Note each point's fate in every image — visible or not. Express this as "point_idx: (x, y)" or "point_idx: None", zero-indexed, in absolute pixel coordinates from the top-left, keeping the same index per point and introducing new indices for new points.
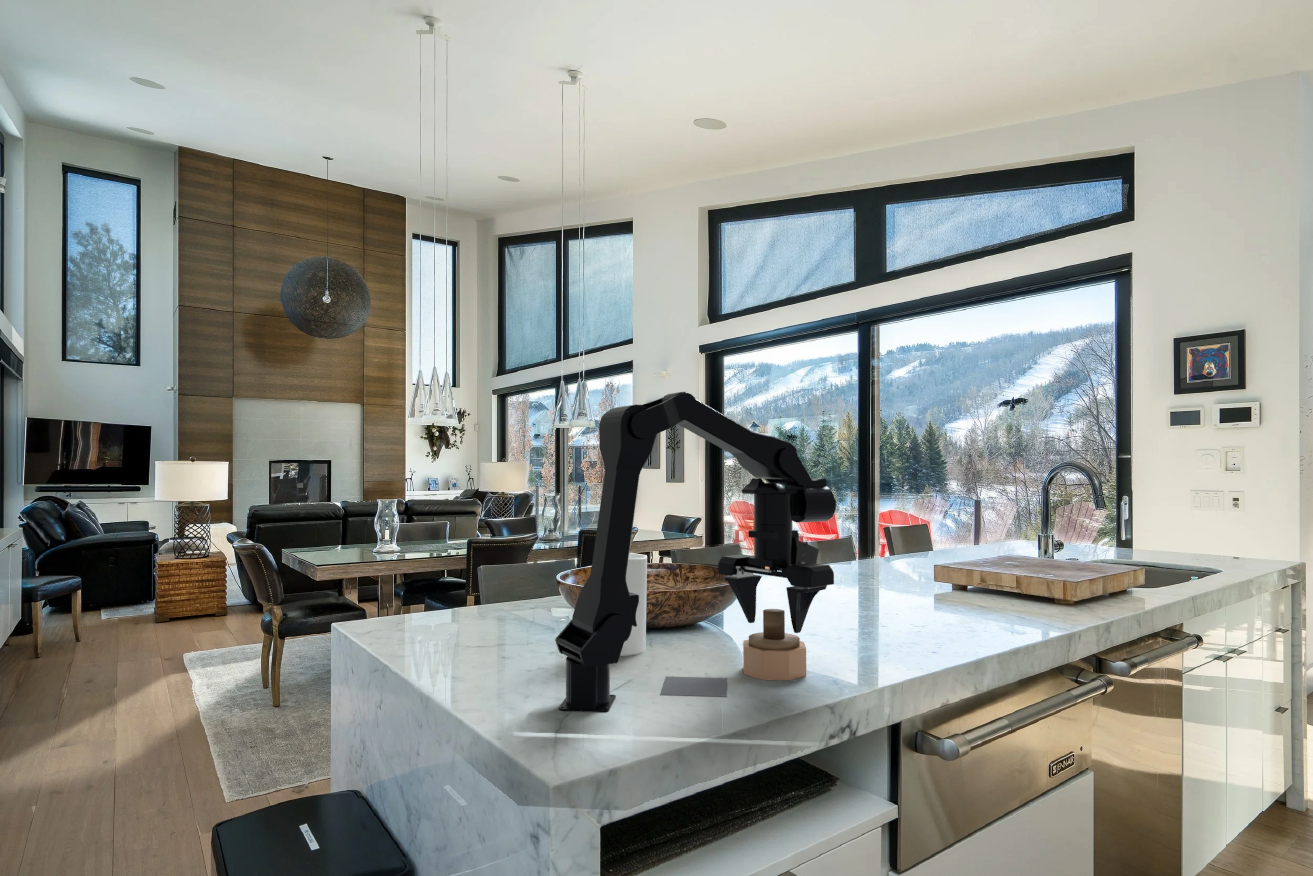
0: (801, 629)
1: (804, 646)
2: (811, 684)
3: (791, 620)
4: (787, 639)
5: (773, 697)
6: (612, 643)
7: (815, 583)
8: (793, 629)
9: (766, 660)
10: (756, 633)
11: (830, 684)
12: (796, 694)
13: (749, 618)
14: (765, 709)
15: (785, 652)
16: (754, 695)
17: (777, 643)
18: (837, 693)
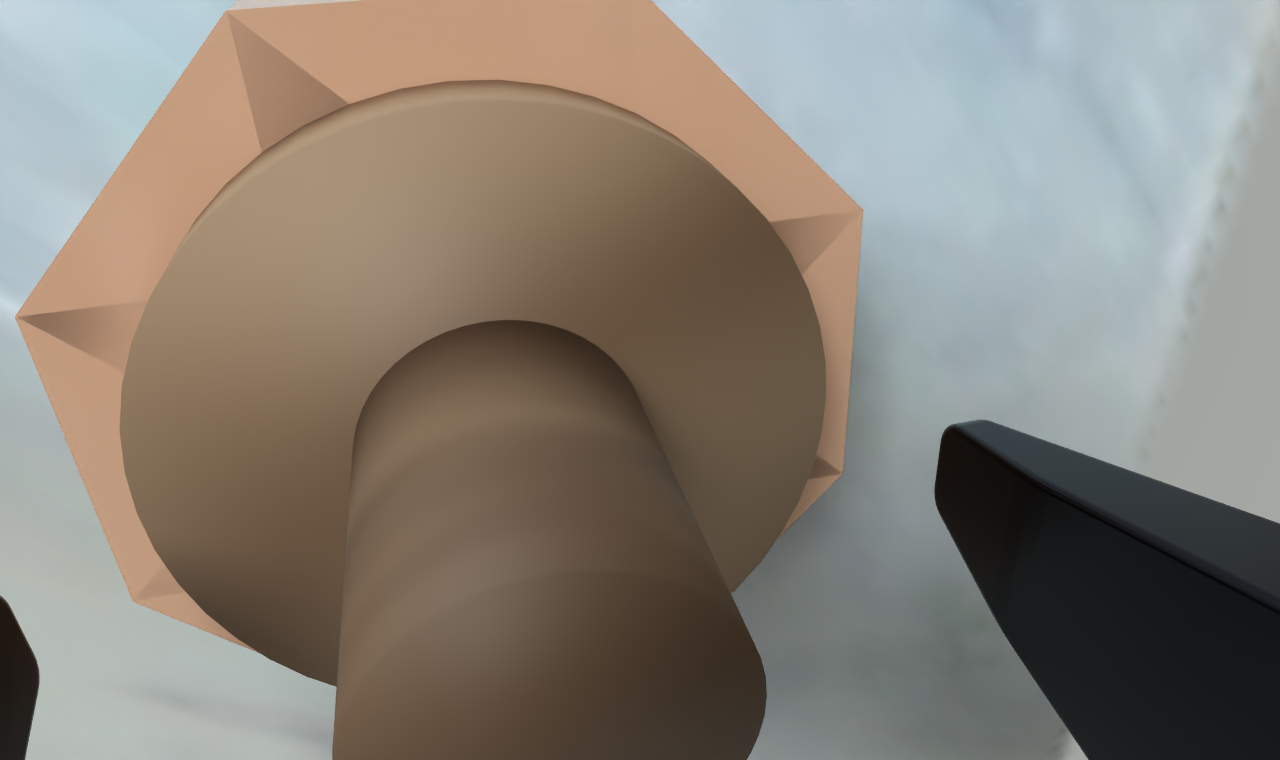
0: (1007, 428)
1: (809, 177)
2: (877, 218)
3: (1035, 674)
4: (693, 380)
5: (873, 593)
6: None
7: None
8: (960, 545)
9: None
10: (159, 512)
11: (983, 85)
12: (935, 456)
13: (23, 749)
14: (961, 710)
15: (814, 495)
16: (775, 657)
17: (746, 571)
18: (1124, 218)
